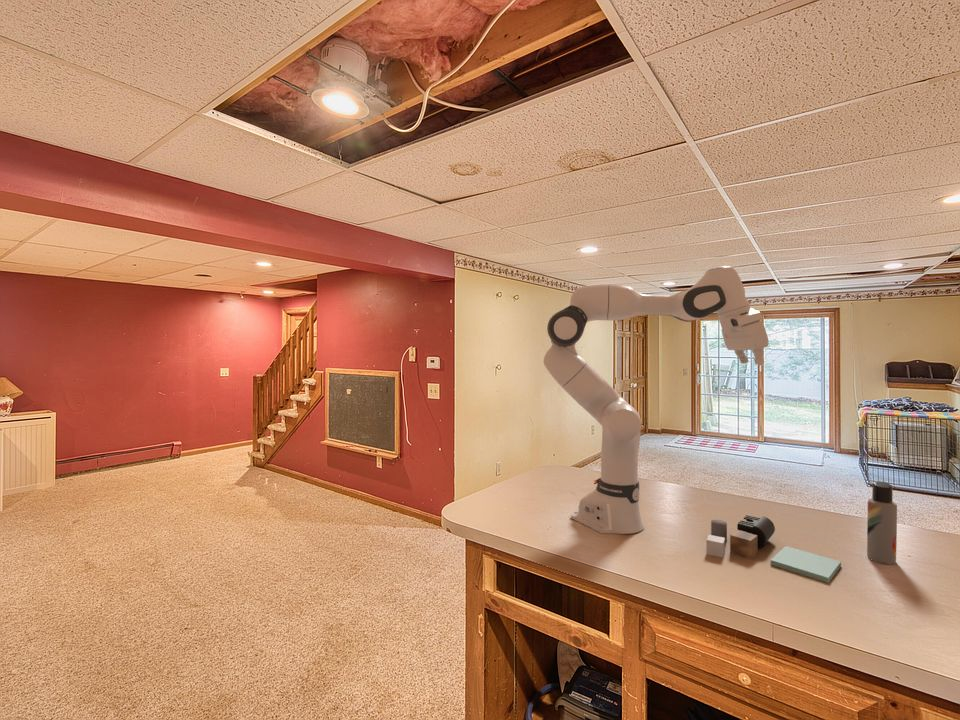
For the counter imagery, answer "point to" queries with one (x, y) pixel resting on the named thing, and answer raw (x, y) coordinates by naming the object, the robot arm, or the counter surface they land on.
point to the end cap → (757, 528)
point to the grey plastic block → (715, 546)
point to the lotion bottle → (882, 525)
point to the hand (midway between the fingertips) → (752, 363)
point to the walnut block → (743, 544)
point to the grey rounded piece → (719, 529)
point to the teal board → (806, 563)
